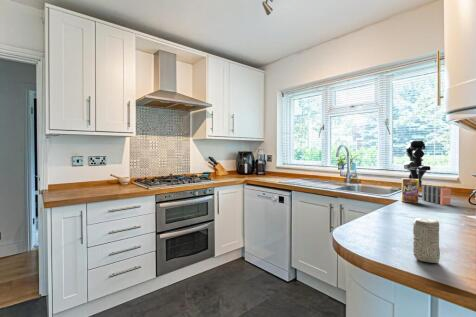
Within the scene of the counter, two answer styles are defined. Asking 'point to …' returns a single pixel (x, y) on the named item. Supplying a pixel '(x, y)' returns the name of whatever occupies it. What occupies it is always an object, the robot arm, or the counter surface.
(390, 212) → the counter surface
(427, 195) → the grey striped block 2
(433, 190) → the domino
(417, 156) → the robot arm
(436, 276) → the counter surface
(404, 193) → the candy box
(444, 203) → the end domino
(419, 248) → the carving
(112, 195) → the counter surface
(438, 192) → the domino
